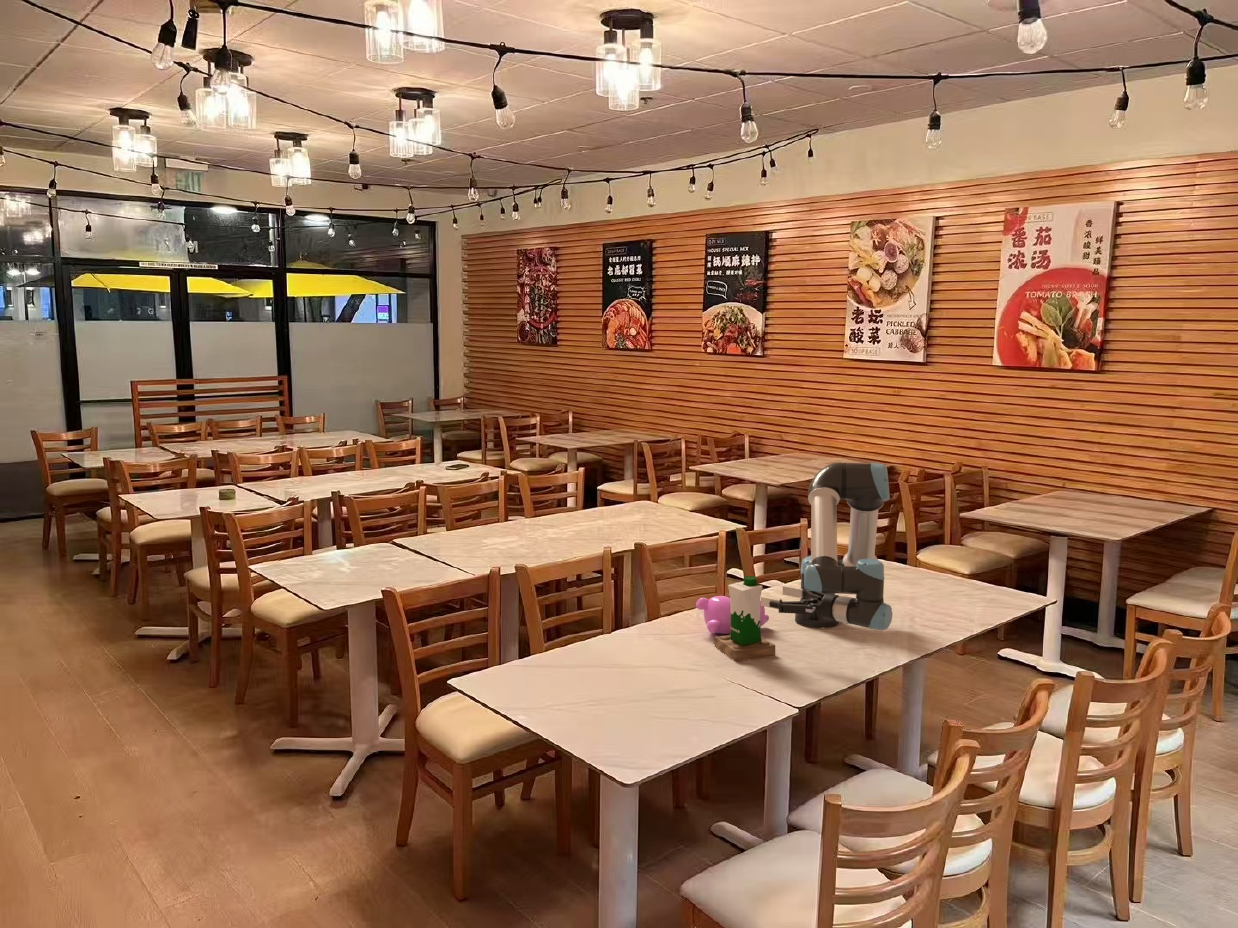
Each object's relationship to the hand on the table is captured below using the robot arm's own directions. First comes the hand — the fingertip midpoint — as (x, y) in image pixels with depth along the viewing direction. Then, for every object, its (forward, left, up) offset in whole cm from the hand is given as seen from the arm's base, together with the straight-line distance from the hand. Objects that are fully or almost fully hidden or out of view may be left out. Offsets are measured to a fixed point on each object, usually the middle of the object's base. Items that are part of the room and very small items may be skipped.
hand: (772, 595), depth 276 cm
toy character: (-28, +1, -20) cm, 34 cm away
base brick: (-9, -5, -21) cm, 23 cm away
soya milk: (-8, -5, -16) cm, 19 cm away
